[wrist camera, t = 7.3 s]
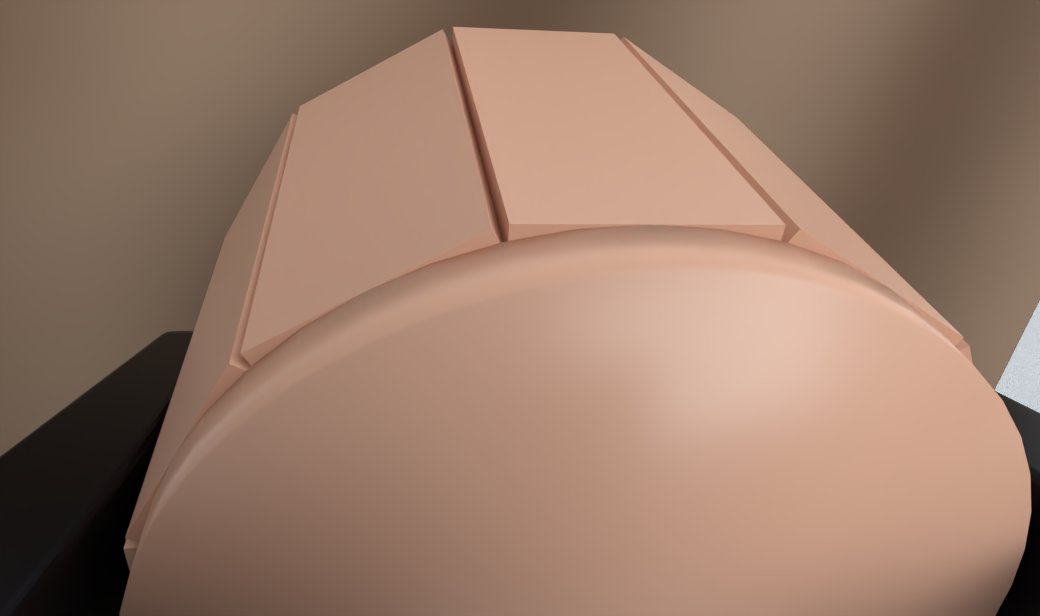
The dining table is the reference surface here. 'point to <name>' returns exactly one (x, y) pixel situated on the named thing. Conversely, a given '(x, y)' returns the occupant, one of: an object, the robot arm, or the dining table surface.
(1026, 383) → the dining table surface
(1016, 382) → the dining table surface
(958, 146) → the post board
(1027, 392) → the dining table surface
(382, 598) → the cap
